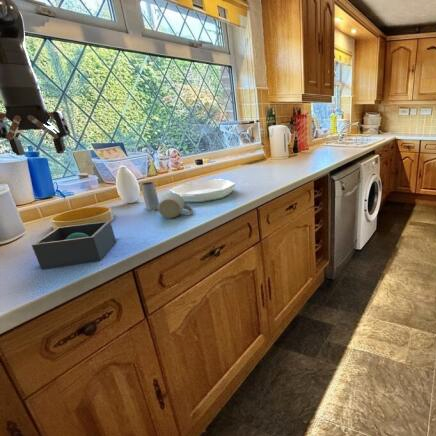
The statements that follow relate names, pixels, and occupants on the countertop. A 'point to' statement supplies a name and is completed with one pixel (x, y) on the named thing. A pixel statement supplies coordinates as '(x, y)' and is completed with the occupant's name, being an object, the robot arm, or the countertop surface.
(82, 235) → the toy ball
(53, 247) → the bin
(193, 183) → the white oval serving dish
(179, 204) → the ceramic mug
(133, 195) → the sauce bottle
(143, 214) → the countertop surface
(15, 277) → the countertop surface
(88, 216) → the bowl
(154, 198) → the grey cylinder
